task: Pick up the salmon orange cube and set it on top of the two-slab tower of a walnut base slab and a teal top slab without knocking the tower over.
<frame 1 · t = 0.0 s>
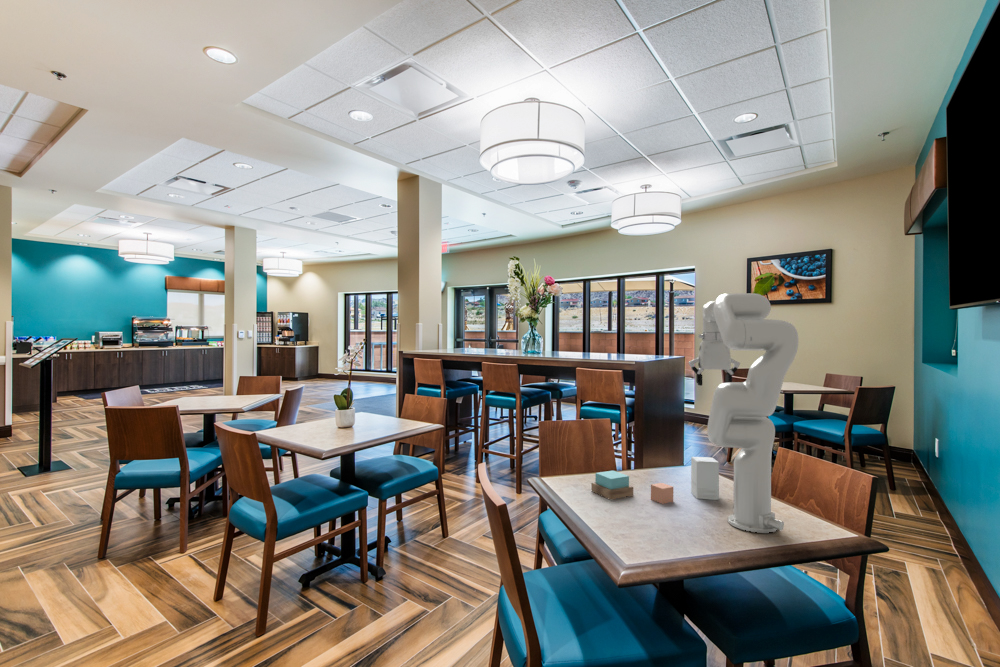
hand: (714, 385, 168), 37 cm above the table, tool pointing down, fingers open, 9 cm apart
salmon orange cube: (662, 500, 155), on the table
teal top slab: (612, 484, 162), point 3 cm above the table
supplement box: (704, 496, 160), on the table
walnut base slab: (612, 495, 162), on the table
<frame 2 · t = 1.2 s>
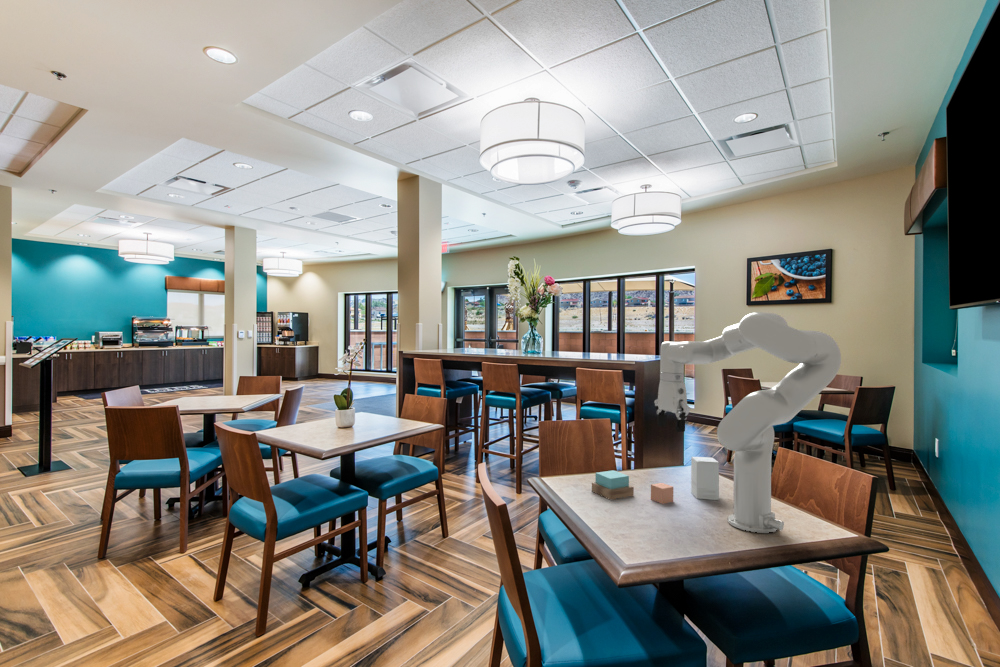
hand: (670, 428, 158), 23 cm above the table, tool pointing down, fingers open, 9 cm apart
teal top slab: (612, 484, 162), point 3 cm above the table, touching walnut base slab
walnut base slab: (612, 495, 162), on the table, touching teal top slab
everything else where it was.
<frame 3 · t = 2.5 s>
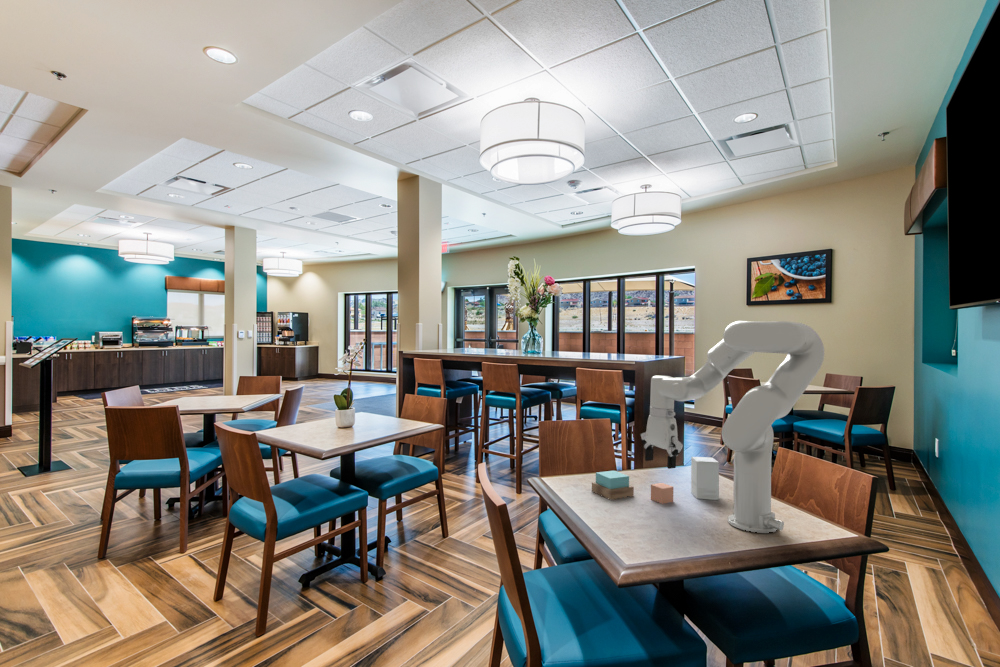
hand: (660, 464, 156), 12 cm above the table, tool pointing down, fingers open, 9 cm apart
nothing on the table moved.
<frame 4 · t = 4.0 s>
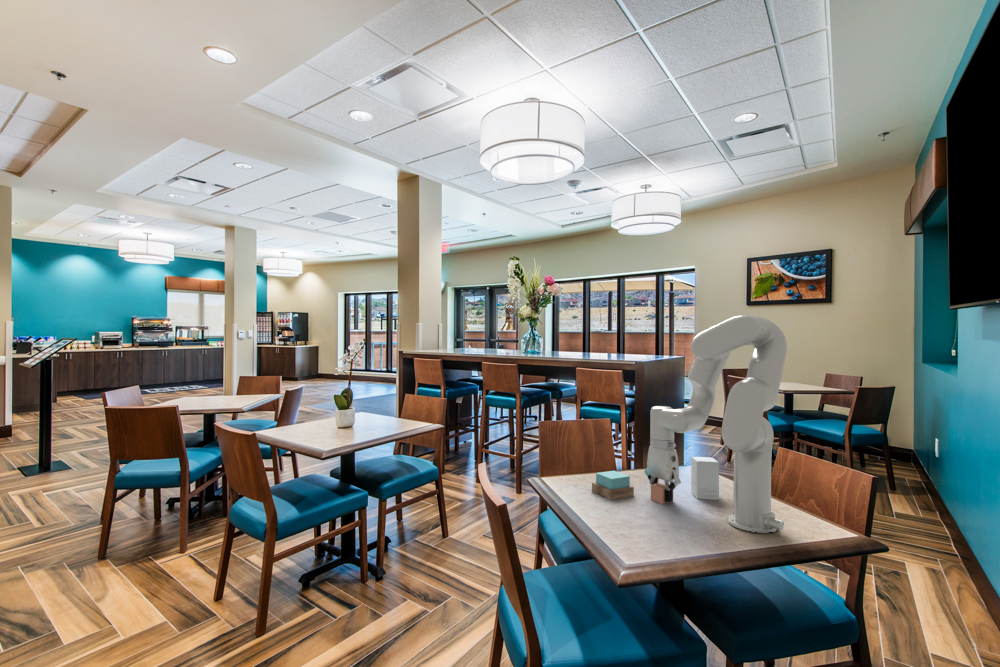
hand: (661, 498, 155), 1 cm above the table, tool pointing down, fingers closed on salmon orange cube, 5 cm apart
salmon orange cube: (661, 500, 155), on the table, touching gripper
everything else where it was.
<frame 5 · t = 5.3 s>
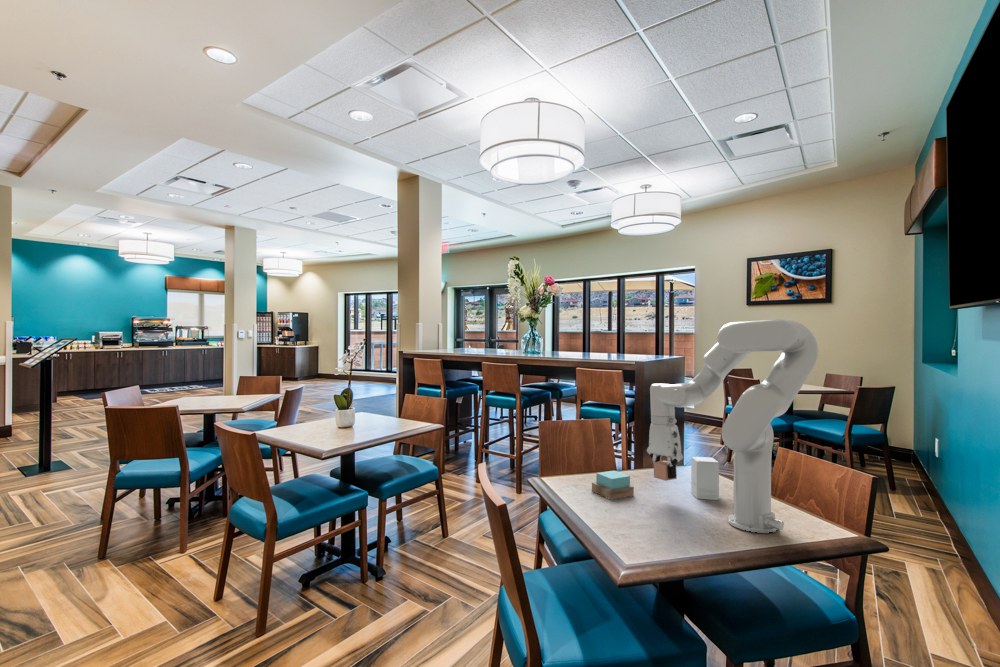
hand: (665, 475, 154), 8 cm above the table, tool pointing down, fingers closed on salmon orange cube, 5 cm apart
salmon orange cube: (665, 478, 154), point 8 cm above the table, touching gripper
teal top slab: (613, 484, 162), point 3 cm above the table
walnut base slab: (612, 494, 162), on the table
everything else where it was.
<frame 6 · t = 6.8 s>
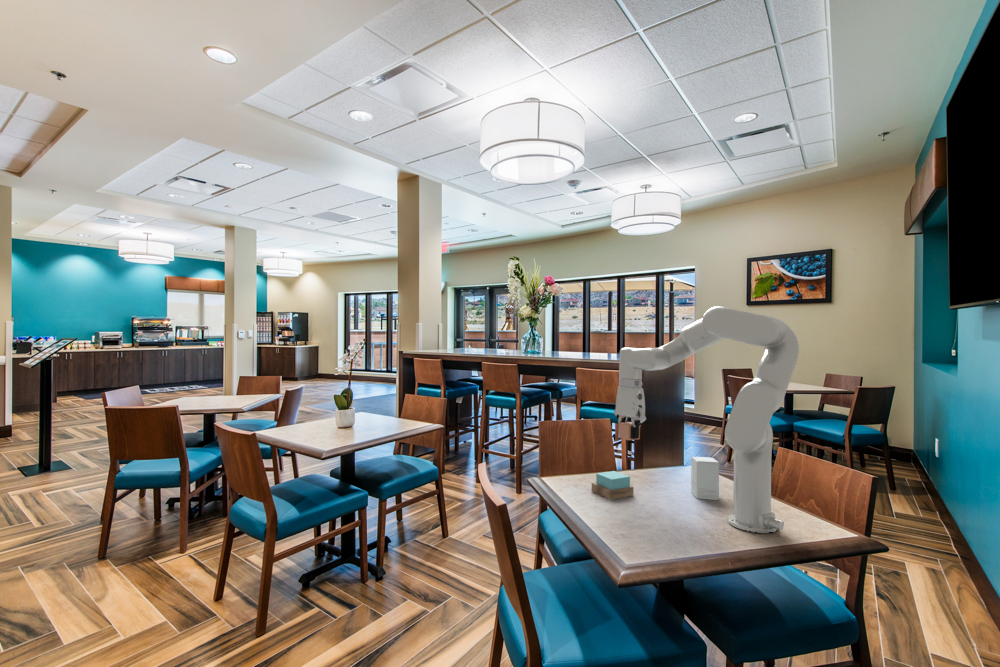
hand: (628, 436, 160), 20 cm above the table, tool pointing down, fingers closed on salmon orange cube, 5 cm apart
salmon orange cube: (628, 438, 160), point 19 cm above the table, touching gripper
teal top slab: (612, 485, 162), point 3 cm above the table, touching walnut base slab
walnut base slab: (612, 495, 162), on the table, touching teal top slab
everything else where it was.
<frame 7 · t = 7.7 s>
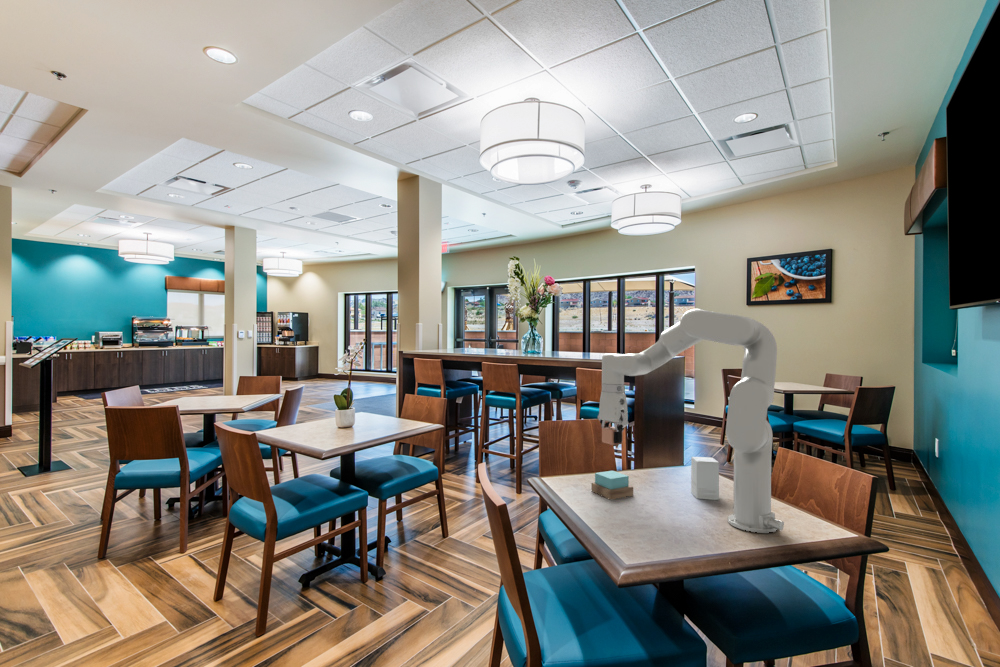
hand: (612, 440, 162), 18 cm above the table, tool pointing down, fingers closed on salmon orange cube, 5 cm apart
salmon orange cube: (612, 442, 162), point 17 cm above the table, touching gripper
everything else where it was.
when the fingers open (9 cm above the table, at t = 9.6 s): salmon orange cube drops 2 cm, resting on teal top slab.
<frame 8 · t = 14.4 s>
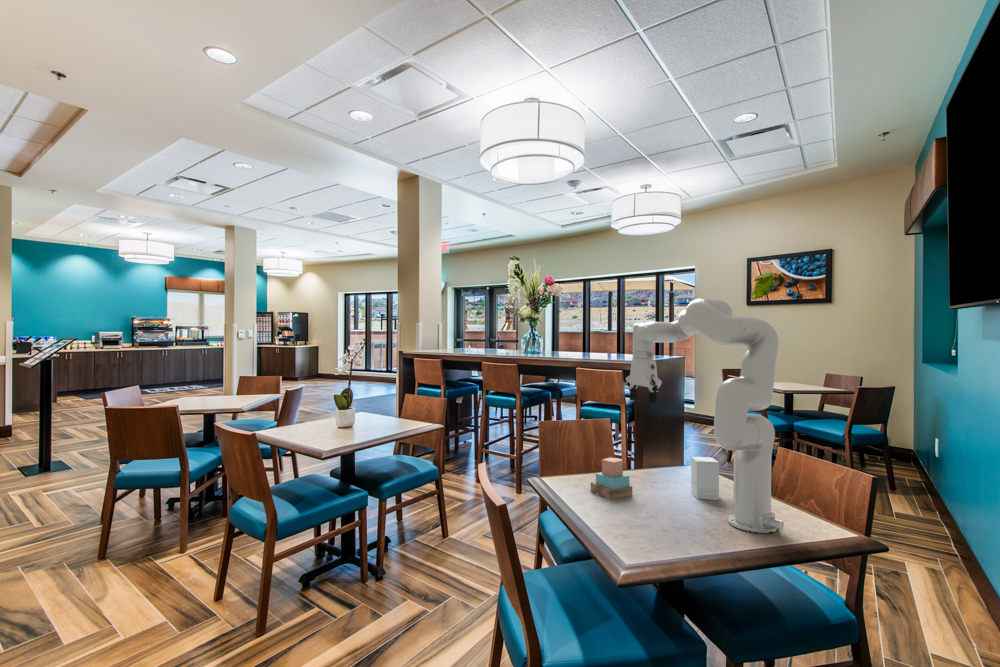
hand: (642, 401, 176), 30 cm above the table, tool pointing down, fingers open, 9 cm apart
salmon orange cube: (612, 474, 162), point 7 cm above the table, touching teal top slab
teal top slab: (612, 484, 162), point 3 cm above the table, touching salmon orange cube, walnut base slab
everything else where it was.
at the end: salmon orange cube 0.1 cm off-centre on the teal top slab, point 3.5 cm above the teal top slab's base; salmon orange cube tilted 0°; teal top slab moved 0.5 cm from its start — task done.
